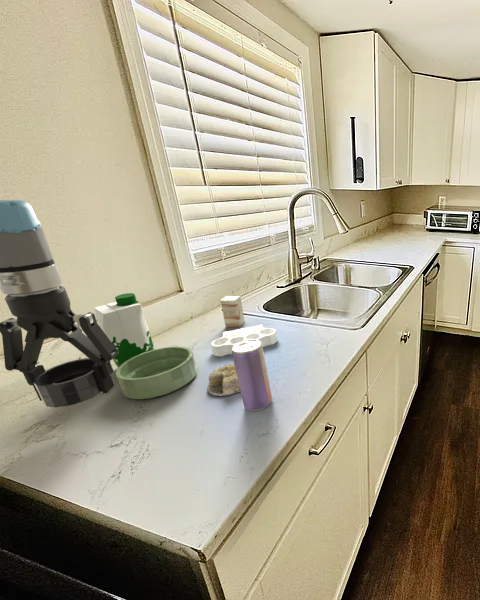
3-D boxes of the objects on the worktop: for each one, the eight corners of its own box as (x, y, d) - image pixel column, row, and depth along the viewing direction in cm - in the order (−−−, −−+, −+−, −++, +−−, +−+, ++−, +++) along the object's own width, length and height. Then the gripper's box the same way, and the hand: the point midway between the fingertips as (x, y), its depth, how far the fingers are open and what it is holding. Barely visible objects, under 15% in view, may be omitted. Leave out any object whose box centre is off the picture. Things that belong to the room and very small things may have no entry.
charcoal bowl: (30, 407, 63) (18, 383, 61) (83, 378, 72) (74, 356, 70) (74, 412, 61) (63, 388, 59) (122, 381, 70) (114, 359, 68)
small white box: (225, 327, 112) (219, 300, 109) (231, 322, 116) (225, 295, 113) (240, 327, 112) (234, 300, 109) (245, 321, 116) (240, 295, 113)
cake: (234, 371, 88) (231, 353, 86) (260, 381, 83) (259, 362, 82) (197, 389, 79) (194, 369, 77) (225, 401, 75) (223, 380, 73)
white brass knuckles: (272, 328, 111) (280, 347, 99) (213, 341, 103) (213, 363, 91) (271, 319, 109) (279, 337, 97) (210, 331, 101) (210, 352, 89)
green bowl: (106, 398, 76) (97, 377, 74) (160, 363, 91) (154, 344, 88) (165, 404, 74) (158, 382, 72) (210, 367, 89) (205, 347, 87)
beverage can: (259, 415, 71) (247, 354, 65) (238, 408, 73) (224, 349, 67) (277, 398, 76) (267, 341, 70) (257, 393, 78) (246, 337, 72)
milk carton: (163, 363, 91) (142, 296, 84) (123, 378, 84) (97, 307, 77) (150, 354, 96) (129, 290, 88) (112, 368, 89) (86, 300, 82)
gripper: (-68, 302, 53) (-6, 413, 61) (94, 292, 57) (131, 396, 65) (-23, 287, 60) (27, 389, 68) (118, 280, 64) (149, 375, 72)
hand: (78, 392), depth 66 cm, fingers closed on charcoal bowl, 10 cm apart
